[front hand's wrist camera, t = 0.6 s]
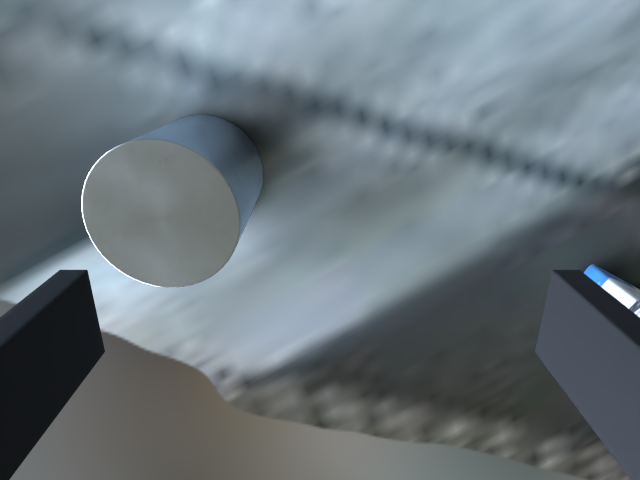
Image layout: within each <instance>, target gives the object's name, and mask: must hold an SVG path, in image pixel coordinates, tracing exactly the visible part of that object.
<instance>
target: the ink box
mask: <svg viewBox="0 0 640 480" xmlns="http://www.w3.org/2000/svg"><path fill="white" fill-rule="evenodd" d="M584 274H586V275H587V276H588V277H589V278H591V279H592V280H593V281H594V282H596V283H597V284H598V285H599V286H601V287H602V288H603V289H605V290H606V291H607V292H608V293H610V294H611V295H612V296H613V297H615V298H616V299H617V300H618V301H620V302H621V303H622V304H623V305H625V306H626V307H627V308H628V309H630V310H631V311H632V312H634V313H635V314H636V315H637V316H639V317H640V289H638V288H636V287H634V286H632V285H631V284H629V283H627V282H625V281H623V280H622V279H620V278H618V277H616V276H614V275H612V274H611V273H609V272H607V271H605V270H603V269H601V268H600V267H598V266H596V265H594V264H592V265H590V266H589V267H588V268H587V269H586V271H585V272H584Z"/></svg>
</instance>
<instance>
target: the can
mask: <svg viewBox="0 0 640 480" xmlns="http://www.w3.org/2000/svg"><path fill="white" fill-rule="evenodd" d="M262 184H263V167H262V162H261V159H260V156H259V153H258V151H257V149H256V147H255V145H254V144H253V142H252V141H251V140H250V138H249V137H248V136H247V135H246V134H245V133H244V132H243V131H242V130H241V129H240V128H238V127H237V126H236V125H234V124H232V123H231V122H229V121H227V120H224V119H222V118H219V117H216V116H210V115H192V116H187V117H184V118H181V119H179V120H176V121H174V122H172V123H169V124H167V125H165V126H162V127H160V128H158V129H155V130H153V131H151V132H148V133H146V134H144V135H141V136H139V137H137V138H134V139H132V140H130V141H127V142H125V143H123V144H120V145H118V146H116V147H114V148H113V149H111V150H109V151H108V152H106V153H105V154H104V155H103V156H102V157H100V159H99V160H98V161H97V162H96V163H95V164H94V166H93V167H92V169H91V170H90V172H89V174H88V176H87V178H86V181H85V184H84V188H83V191H82V201H81V202H82V214H83V220H84V223H85V227H86V230H87V232H88V234H89V236H90V239H91V240H92V242H93V244H94V245H95V247H96V248H97V250H98V251H99V252H100V253H101V255H102V256H103V257H104V258H105V259H106V260H107V261H108V262H109V263H110V264H111V265H112V266H114V267H115V268H116V269H117V270H119V271H120V272H122V273H123V274H125V275H127V276H129V277H131V278H133V279H135V280H137V281H140V282H142V283H145V284H149V285H153V286H158V287H169V288H175V287H185V286H189V285H193V284H196V283H199V282H202V281H204V280H206V279H208V278H210V277H211V276H213V275H214V274H216V273H217V272H218V271H219V270H220V269H221V268H222V267H224V265H225V264H226V263H227V262H228V260H229V259H230V257H231V256H232V254H233V252H234V250H235V248H236V246H237V244H238V241H239V239H240V237H241V235H242V233H243V230H244V228H245V226H246V224H247V221H248V219H249V217H250V215H251V213H252V210H253V208H254V206H255V204H256V201H257V199H258V197H259V194H260V192H261V188H262Z"/></svg>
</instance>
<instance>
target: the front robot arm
mask: <svg viewBox="0 0 640 480" xmlns="http://www.w3.org/2000/svg"><path fill="white" fill-rule="evenodd" d="M104 352H105V350H104V345H103V341H102V336H101V331H100V327H99V322H98V317H97V313H96V308H95V303H94V299H93V294H92V289H91V285H90V280H89V276H88V271H87V270H59V271H58V272H57V273H56V274H54V275H53V276H52V277H51V278H49V279H48V280H47V281H46V282H44V283H43V284H42V285H41V286H39V287H38V288H37V289H35V290H34V291H33V292H32V293H30V294H29V295H28V296H27V297H25V298H24V299H23V300H22V301H20V302H19V303H18V304H17V305H15V306H14V307H13V308H12V309H10V310H9V311H8V312H7V313H5V314H4V315H3V316H1V317H0V480H9V479H10V478H11V477H12V475H13V474H14V473H15V471H16V470H17V469H18V467H19V466H20V465H21V463H22V462H23V461H24V459H25V458H26V457H27V455H28V454H29V453H30V451H31V450H32V448H33V447H34V446H35V444H36V443H37V442H38V440H39V439H40V438H41V436H42V435H43V434H44V432H45V431H46V430H47V428H48V427H49V426H50V424H51V423H52V422H53V420H54V419H55V418H56V416H57V415H58V414H59V412H60V411H61V410H62V408H63V407H64V406H65V404H66V403H67V402H68V400H69V399H70V398H71V396H72V395H73V394H74V392H75V391H76V390H77V388H78V387H79V386H80V384H81V383H82V382H83V380H84V379H85V378H86V376H87V375H88V374H89V372H90V371H91V370H92V368H93V367H94V366H95V364H96V363H97V361H98V360H99V359H100V357H101V356H102V355H103V353H104ZM535 352H536V353H537V355H538V356H539V358H540V359H541V360H542V362H543V363H544V364H545V366H546V367H547V368H548V370H549V371H550V372H551V374H552V375H553V376H554V378H555V379H556V380H557V382H558V383H559V384H560V386H561V387H562V388H563V390H564V391H565V392H566V394H567V395H568V396H569V398H570V399H571V400H572V402H573V403H574V404H575V406H576V407H577V408H578V410H579V411H580V412H581V414H582V415H583V416H584V418H585V419H586V420H587V422H588V423H589V424H590V426H591V427H592V428H593V430H594V431H595V432H596V434H597V435H598V436H599V438H600V439H601V440H602V442H603V443H604V444H605V446H606V447H607V449H608V450H609V451H610V453H611V454H612V455H613V457H614V458H615V459H616V461H617V462H618V463H619V465H620V466H621V467H622V469H623V470H624V471H625V473H626V474H627V475H628V477H629V478H630V479H631V480H640V317H639V316H637V315H636V314H635V313H634V312H632V311H631V310H630V309H628V308H627V307H626V306H625V305H623V304H622V303H621V302H620V301H618V300H617V299H616V298H615V297H613V296H612V295H611V294H610V293H608V292H607V291H606V290H605V289H603V288H602V287H601V286H599V285H598V284H597V283H596V282H594V281H593V280H592V279H591V278H589V277H588V276H587V275H586V274H584V273H583V272H582V271H581V270H553V271H552V276H551V280H550V285H549V289H548V294H547V299H546V303H545V308H544V313H543V317H542V322H541V327H540V331H539V336H538V341H537V345H536V350H535Z"/></svg>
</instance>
